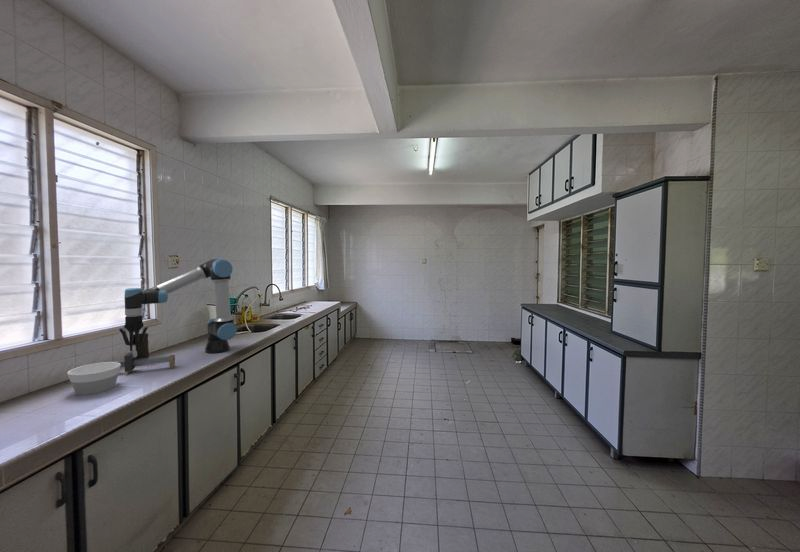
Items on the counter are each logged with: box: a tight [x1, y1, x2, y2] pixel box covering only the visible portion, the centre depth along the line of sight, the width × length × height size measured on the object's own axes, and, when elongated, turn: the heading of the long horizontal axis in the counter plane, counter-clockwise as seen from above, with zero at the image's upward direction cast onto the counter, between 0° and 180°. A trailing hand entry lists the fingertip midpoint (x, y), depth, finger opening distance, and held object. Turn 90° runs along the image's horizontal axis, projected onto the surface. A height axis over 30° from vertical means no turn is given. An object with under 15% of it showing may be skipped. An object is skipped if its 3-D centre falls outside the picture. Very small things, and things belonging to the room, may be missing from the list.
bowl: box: [67, 361, 121, 396], centre depth 159 cm, size 19×19×11 cm
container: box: [133, 332, 150, 367], centre depth 198 cm, size 9×9×18 cm
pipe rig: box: [109, 354, 176, 376], centre depth 185 cm, size 30×9×7 cm, turn 117°
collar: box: [123, 351, 137, 373], centre depth 182 cm, size 3×8×9 cm, turn 27°
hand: (134, 356), depth 183 cm, fingers closed
